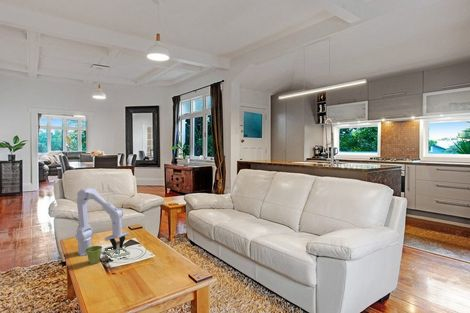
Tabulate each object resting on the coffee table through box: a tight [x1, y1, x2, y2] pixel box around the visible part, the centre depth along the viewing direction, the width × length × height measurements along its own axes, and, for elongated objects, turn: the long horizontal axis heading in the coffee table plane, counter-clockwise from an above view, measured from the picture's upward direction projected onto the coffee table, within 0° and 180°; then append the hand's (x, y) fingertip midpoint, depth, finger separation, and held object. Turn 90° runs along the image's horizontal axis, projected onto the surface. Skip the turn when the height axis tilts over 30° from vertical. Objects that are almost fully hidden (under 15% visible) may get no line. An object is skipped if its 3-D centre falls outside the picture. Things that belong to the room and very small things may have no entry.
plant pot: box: [85, 245, 103, 265], centre depth 175 cm, size 9×9×9 cm
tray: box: [106, 247, 131, 258], centre depth 184 cm, size 11×11×3 cm
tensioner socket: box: [103, 245, 114, 252], centre depth 191 cm, size 6×6×2 cm
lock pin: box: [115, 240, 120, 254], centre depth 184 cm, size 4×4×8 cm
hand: (117, 248), depth 184 cm, fingers open, 4 cm apart
